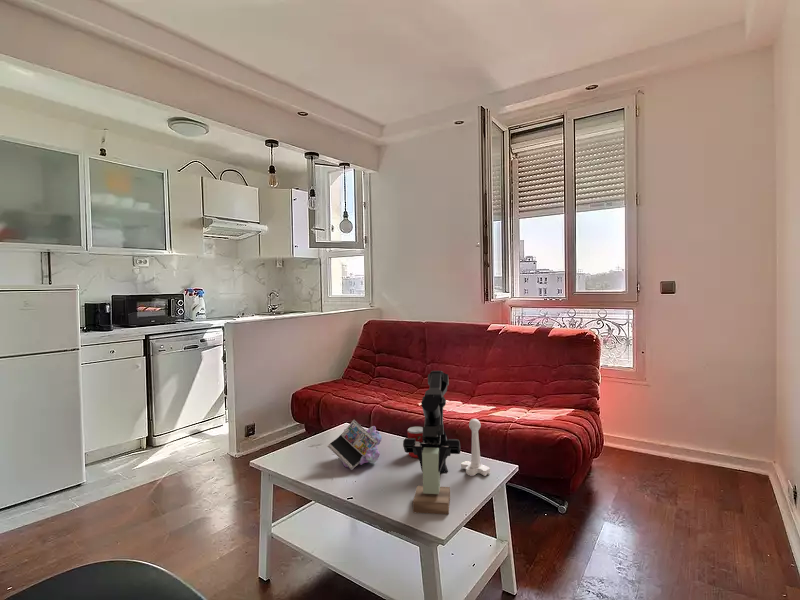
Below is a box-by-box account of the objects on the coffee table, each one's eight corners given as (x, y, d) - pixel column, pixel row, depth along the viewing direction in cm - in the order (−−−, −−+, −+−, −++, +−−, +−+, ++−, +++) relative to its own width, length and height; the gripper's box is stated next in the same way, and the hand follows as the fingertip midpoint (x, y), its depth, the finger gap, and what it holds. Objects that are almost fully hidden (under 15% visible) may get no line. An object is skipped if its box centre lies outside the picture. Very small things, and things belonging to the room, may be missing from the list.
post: (424, 486, 141) (423, 447, 141) (440, 486, 140) (439, 447, 140) (423, 493, 136) (422, 453, 136) (438, 494, 136) (437, 453, 135)
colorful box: (380, 437, 191) (358, 406, 188) (397, 451, 170) (373, 416, 167) (343, 468, 184) (320, 436, 181) (356, 487, 164) (330, 451, 161)
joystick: (492, 472, 161) (490, 420, 160) (481, 479, 155) (479, 425, 155) (467, 465, 168) (465, 415, 168) (456, 471, 163) (454, 419, 162)
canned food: (420, 459, 175) (419, 433, 175) (404, 456, 180) (403, 430, 180) (430, 453, 181) (429, 428, 181) (415, 450, 186) (414, 425, 186)
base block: (417, 495, 145) (417, 485, 145) (450, 497, 143) (449, 486, 143) (413, 512, 134) (412, 501, 134) (448, 514, 132) (448, 503, 132)
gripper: (402, 414, 143) (398, 460, 133) (458, 415, 140) (458, 462, 130) (407, 430, 151) (403, 474, 141) (460, 430, 148) (460, 476, 138)
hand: (430, 471), depth 137 cm, fingers closed on post, 5 cm apart
